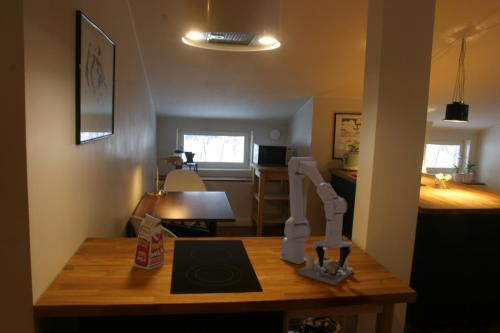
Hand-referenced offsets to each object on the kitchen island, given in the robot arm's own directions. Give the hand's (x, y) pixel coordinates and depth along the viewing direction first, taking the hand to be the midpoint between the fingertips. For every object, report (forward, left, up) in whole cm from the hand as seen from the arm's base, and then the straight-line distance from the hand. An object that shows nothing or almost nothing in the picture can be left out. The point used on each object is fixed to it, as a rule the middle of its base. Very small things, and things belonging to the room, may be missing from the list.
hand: (330, 266), depth 137 cm
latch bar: (-3, +4, -2) cm, 5 cm away
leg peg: (0, 0, -4) cm, 4 cm away
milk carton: (-58, -38, -6) cm, 70 cm away
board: (-4, +5, -5) cm, 9 cm away
